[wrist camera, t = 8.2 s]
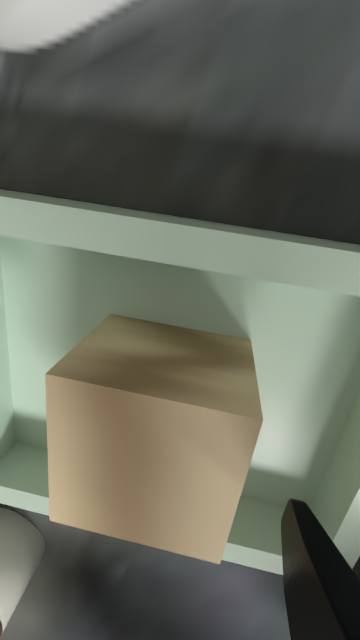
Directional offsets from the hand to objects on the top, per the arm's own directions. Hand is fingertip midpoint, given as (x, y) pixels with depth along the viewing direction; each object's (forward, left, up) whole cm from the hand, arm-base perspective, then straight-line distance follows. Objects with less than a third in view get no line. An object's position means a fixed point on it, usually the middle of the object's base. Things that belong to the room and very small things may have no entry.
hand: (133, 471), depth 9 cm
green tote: (0, 0, -6) cm, 6 cm away
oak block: (0, 0, -5) cm, 5 cm away
